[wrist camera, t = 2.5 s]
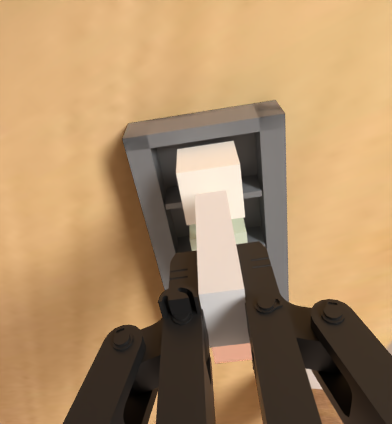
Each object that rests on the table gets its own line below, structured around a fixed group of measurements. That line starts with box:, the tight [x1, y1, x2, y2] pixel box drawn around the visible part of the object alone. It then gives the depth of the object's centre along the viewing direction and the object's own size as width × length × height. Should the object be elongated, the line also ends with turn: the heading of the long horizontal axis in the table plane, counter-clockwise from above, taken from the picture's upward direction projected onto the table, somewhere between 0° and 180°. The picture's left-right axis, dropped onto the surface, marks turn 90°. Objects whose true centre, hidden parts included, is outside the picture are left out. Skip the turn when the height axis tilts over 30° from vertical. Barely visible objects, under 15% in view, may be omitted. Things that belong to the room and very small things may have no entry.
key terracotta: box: [212, 343, 252, 364], centre depth 27 cm, size 3×3×3 cm
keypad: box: [122, 100, 289, 302], centre depth 26 cm, size 18×9×2 cm, turn 9°
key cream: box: [176, 141, 245, 225], centre depth 20 cm, size 3×3×3 cm
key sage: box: [189, 218, 248, 251], centre depth 22 cm, size 3×3×3 cm
